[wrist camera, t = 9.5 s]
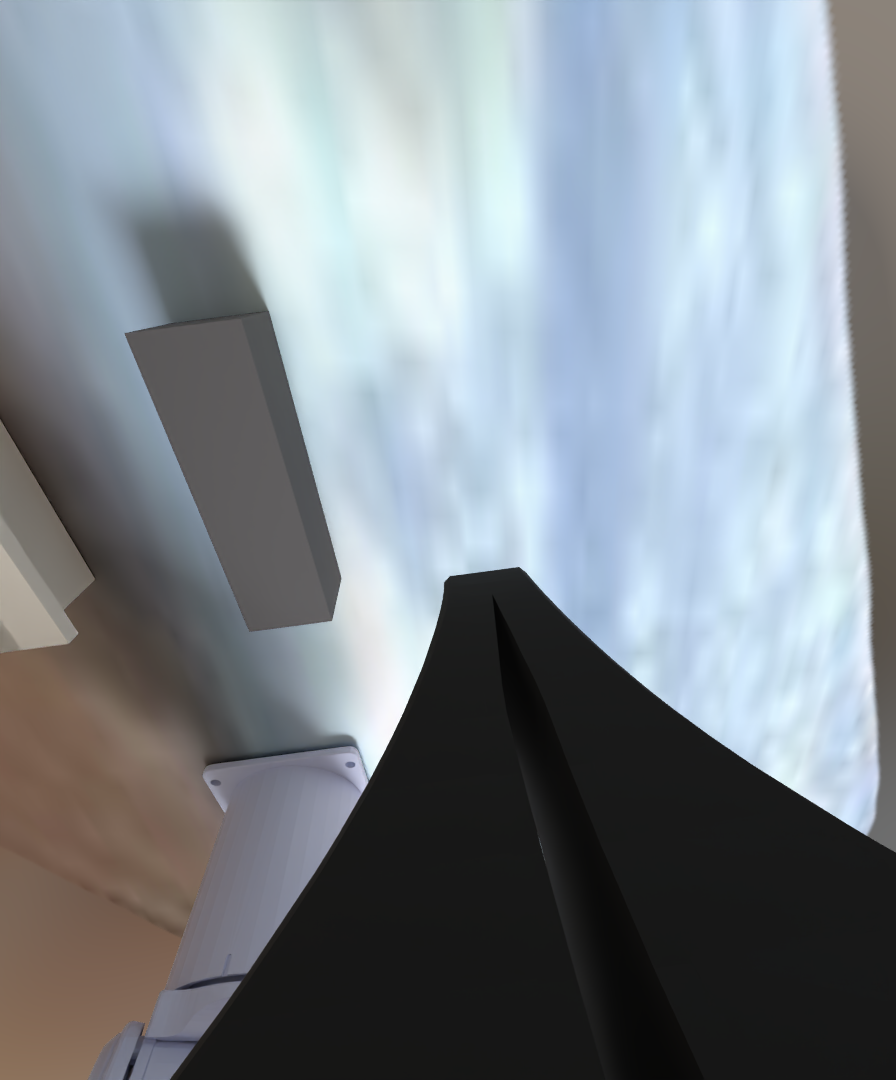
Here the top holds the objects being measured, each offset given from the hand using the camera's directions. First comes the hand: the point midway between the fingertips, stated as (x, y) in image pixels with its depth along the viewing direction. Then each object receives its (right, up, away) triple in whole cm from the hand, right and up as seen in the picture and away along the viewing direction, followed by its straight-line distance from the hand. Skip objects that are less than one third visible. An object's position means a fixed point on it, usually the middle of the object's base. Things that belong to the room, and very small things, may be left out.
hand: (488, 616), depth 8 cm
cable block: (-7, +4, +9) cm, 12 cm away
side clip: (-16, +3, +8) cm, 18 cm away
